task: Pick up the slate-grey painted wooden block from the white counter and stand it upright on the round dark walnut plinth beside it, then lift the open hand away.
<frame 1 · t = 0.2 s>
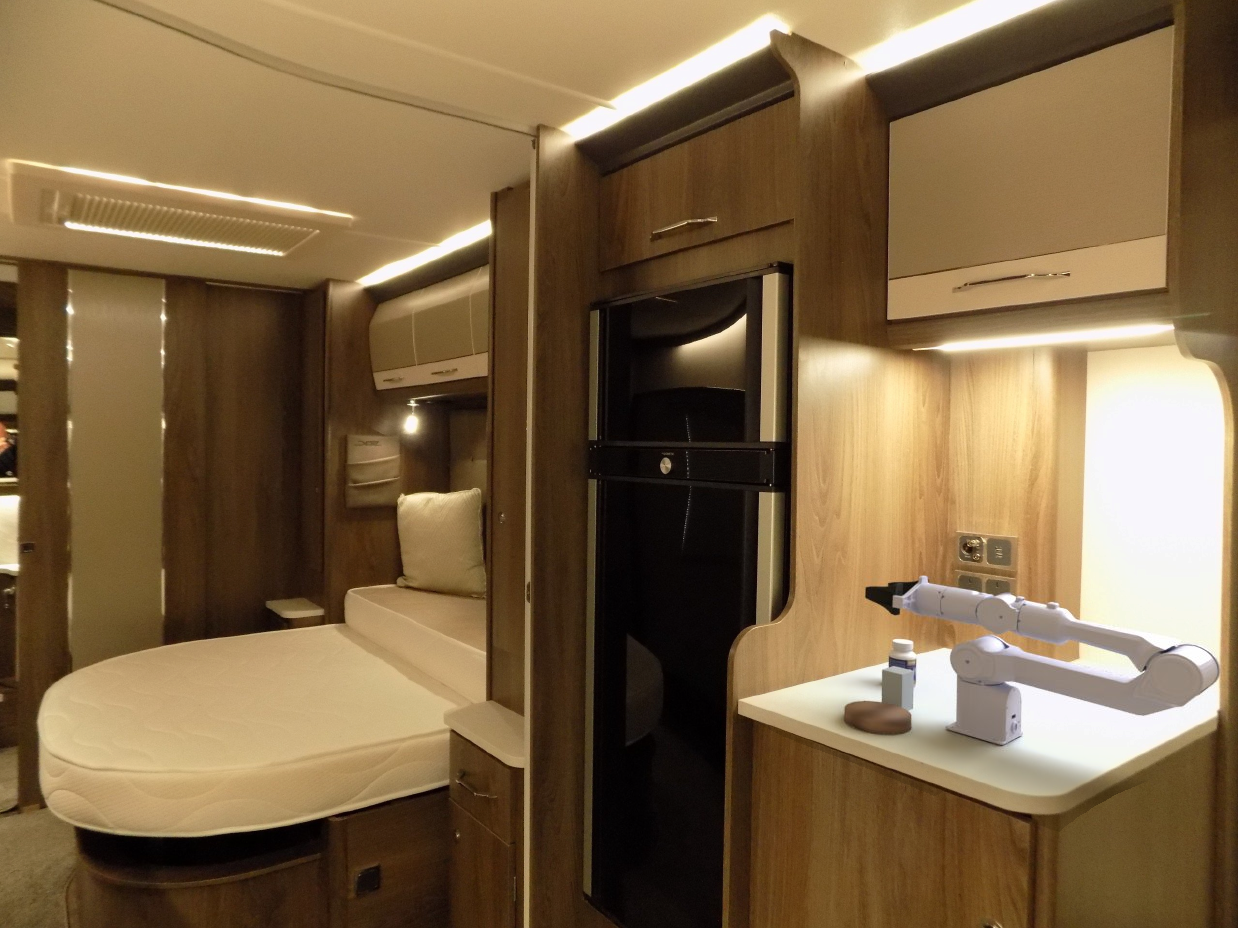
hand: (877, 590, 142), 21 cm above the worktop, tool horizontal, fingers open, 7 cm apart
plinth: (877, 722, 131), on the worktop
pill bottle: (902, 685, 154), on the worktop
block: (897, 708, 139), on the worktop
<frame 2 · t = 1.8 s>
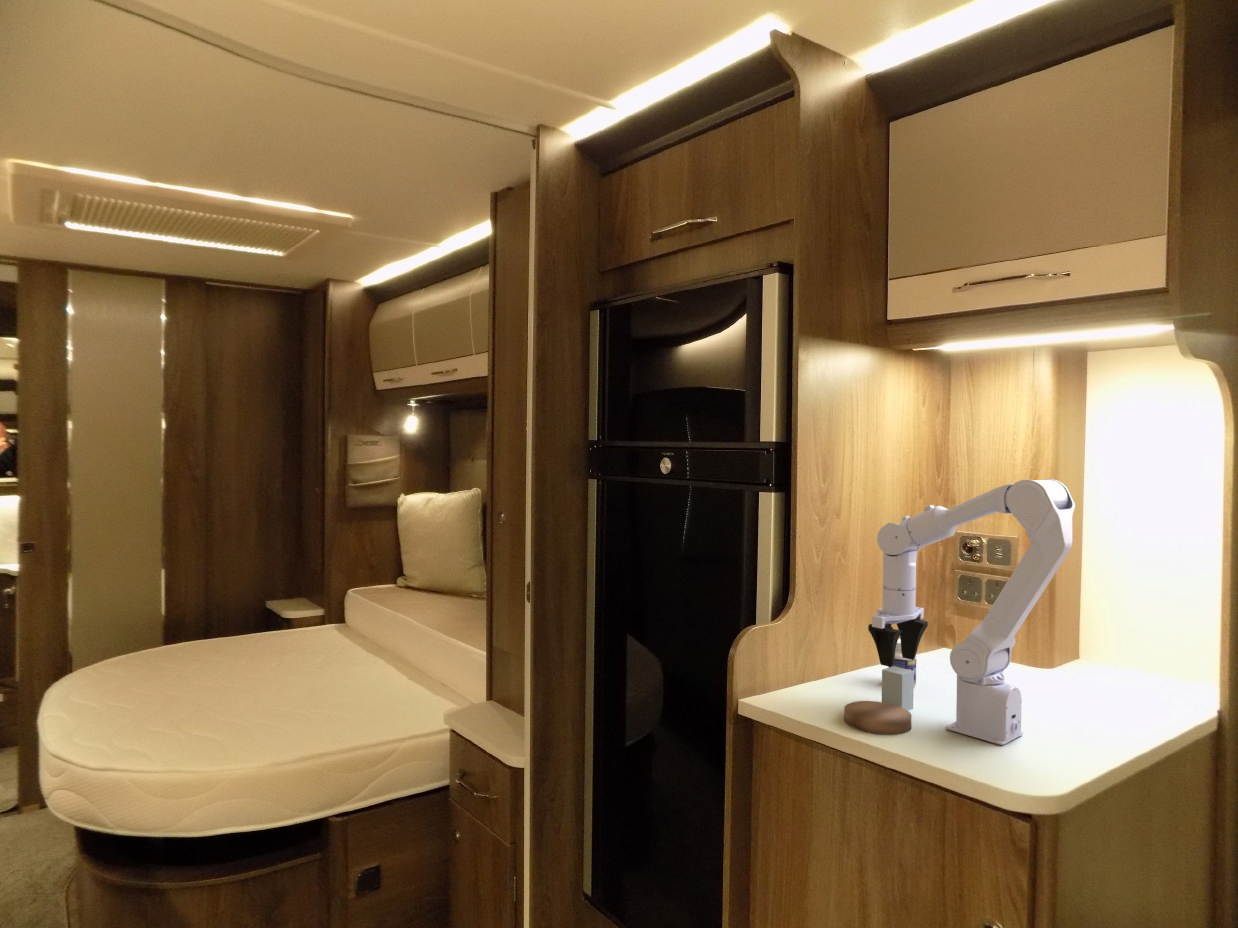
hand: (897, 661, 139), 8 cm above the worktop, tool pointing down, fingers open, 7 cm apart
nothing on the worktop moved.
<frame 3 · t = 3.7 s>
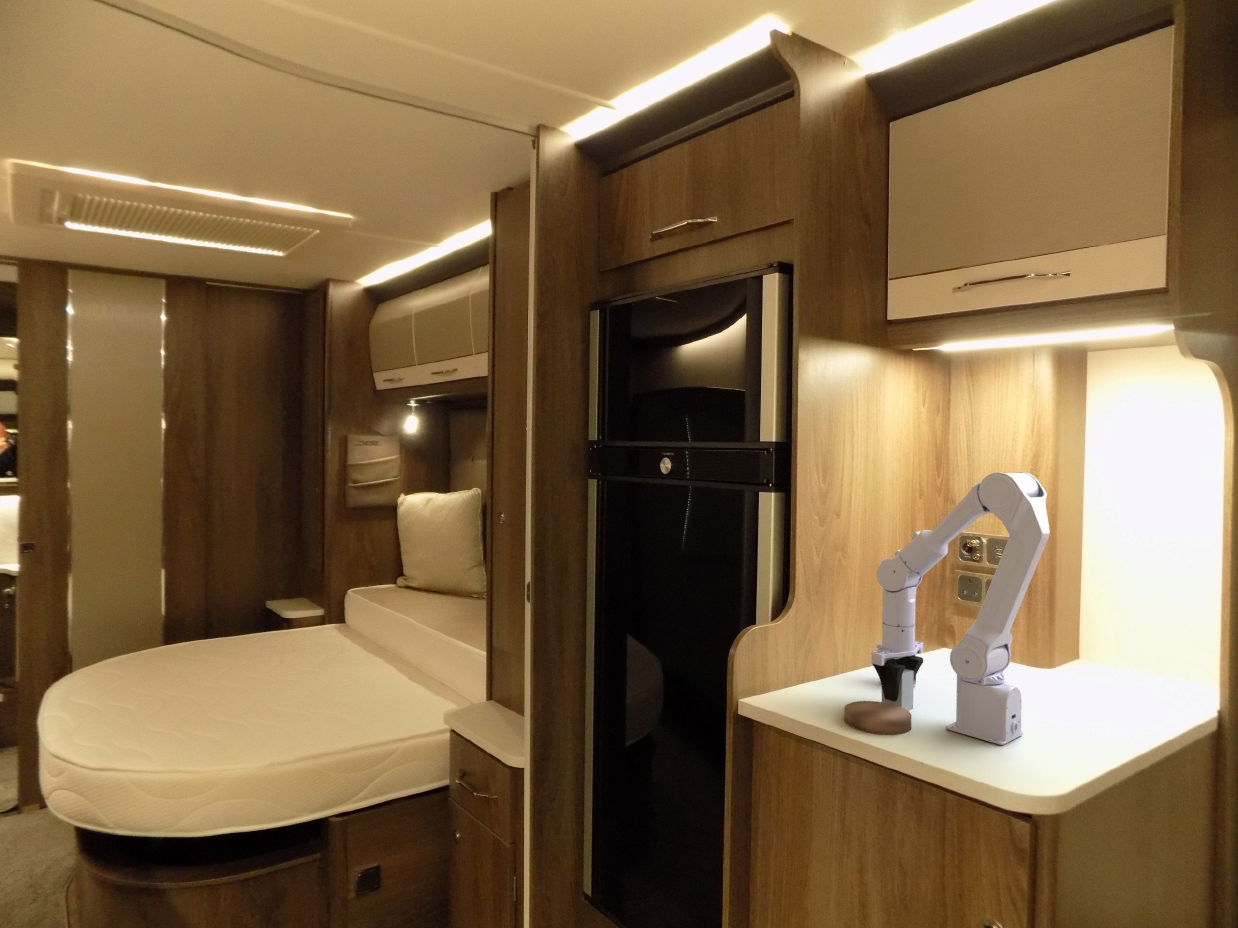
hand: (897, 697, 139), 2 cm above the worktop, tool pointing down, fingers closed on block, 4 cm apart
block: (897, 707, 139), on the worktop, touching gripper
everything else where it was.
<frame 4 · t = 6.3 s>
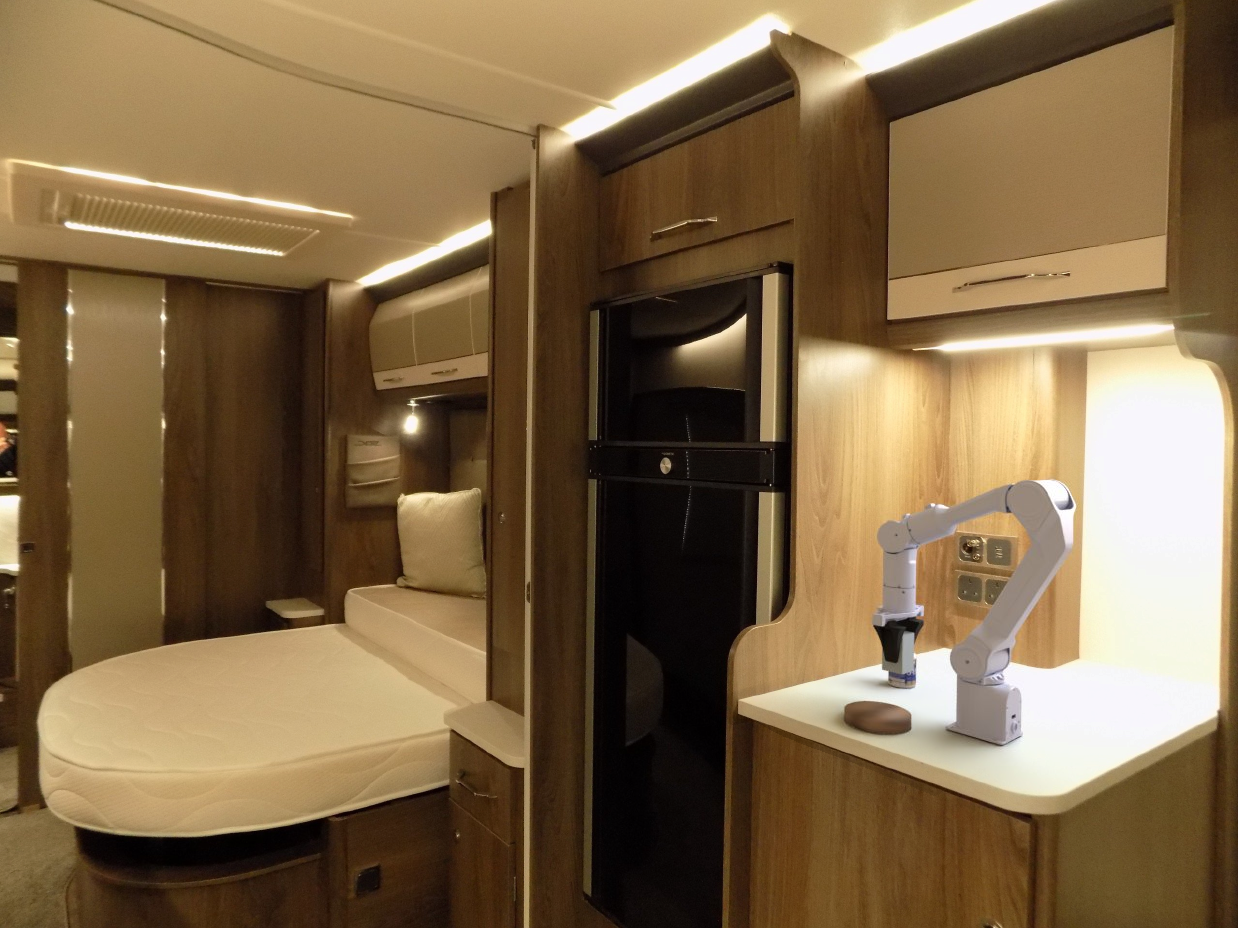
hand: (898, 659, 139), 9 cm above the worktop, tool pointing down, fingers closed on block, 4 cm apart
block: (897, 670, 139), point 7 cm above the worktop, touching gripper
everything else where it was.
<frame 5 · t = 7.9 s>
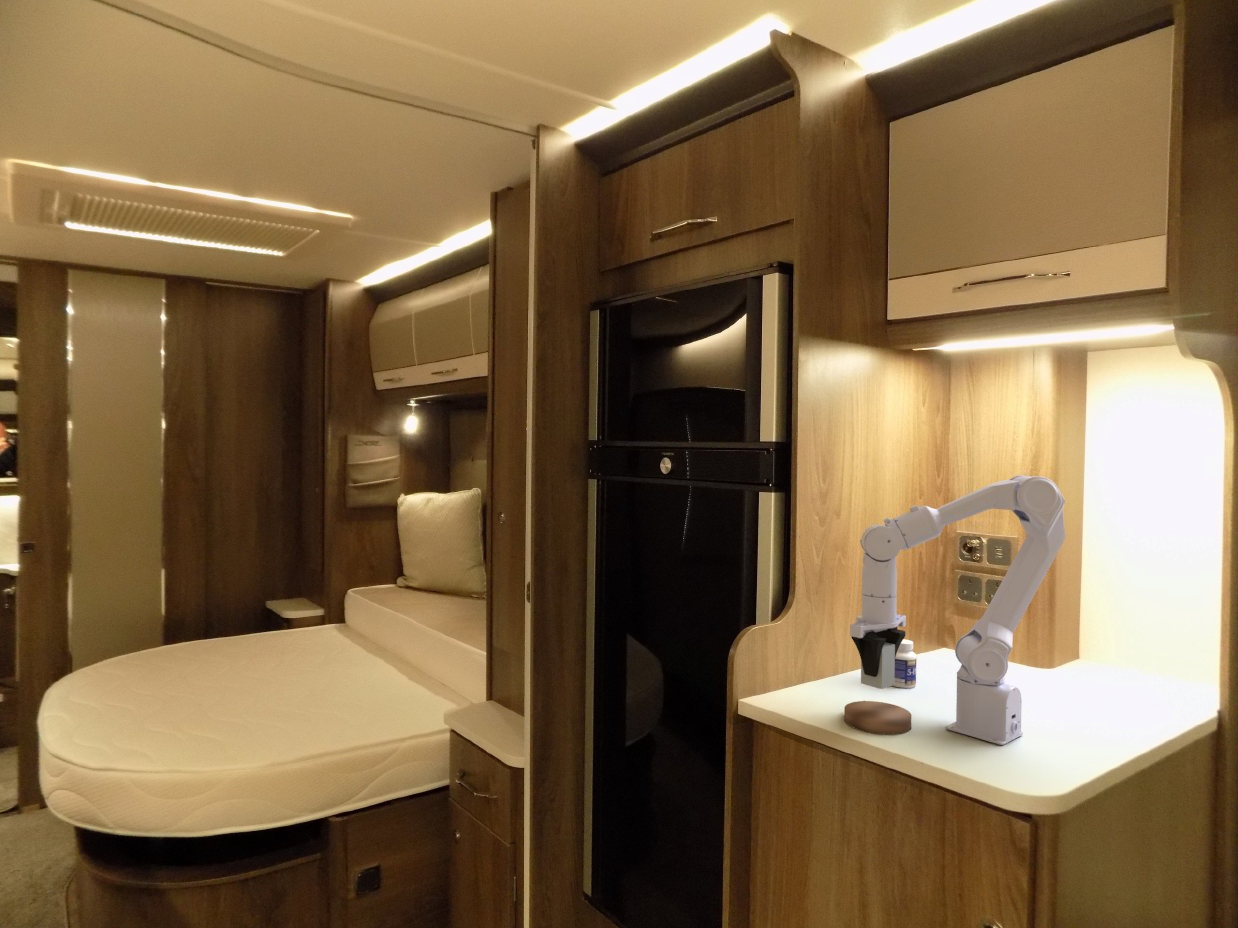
hand: (878, 672, 131), 9 cm above the worktop, tool pointing down, fingers closed on block, 4 cm apart
block: (877, 683, 131), point 7 cm above the worktop, touching gripper
everything else where it was.
when the fingers open (5 cm above the worktop, at t = 9.1 s): block stays where it is, resting on plinth.
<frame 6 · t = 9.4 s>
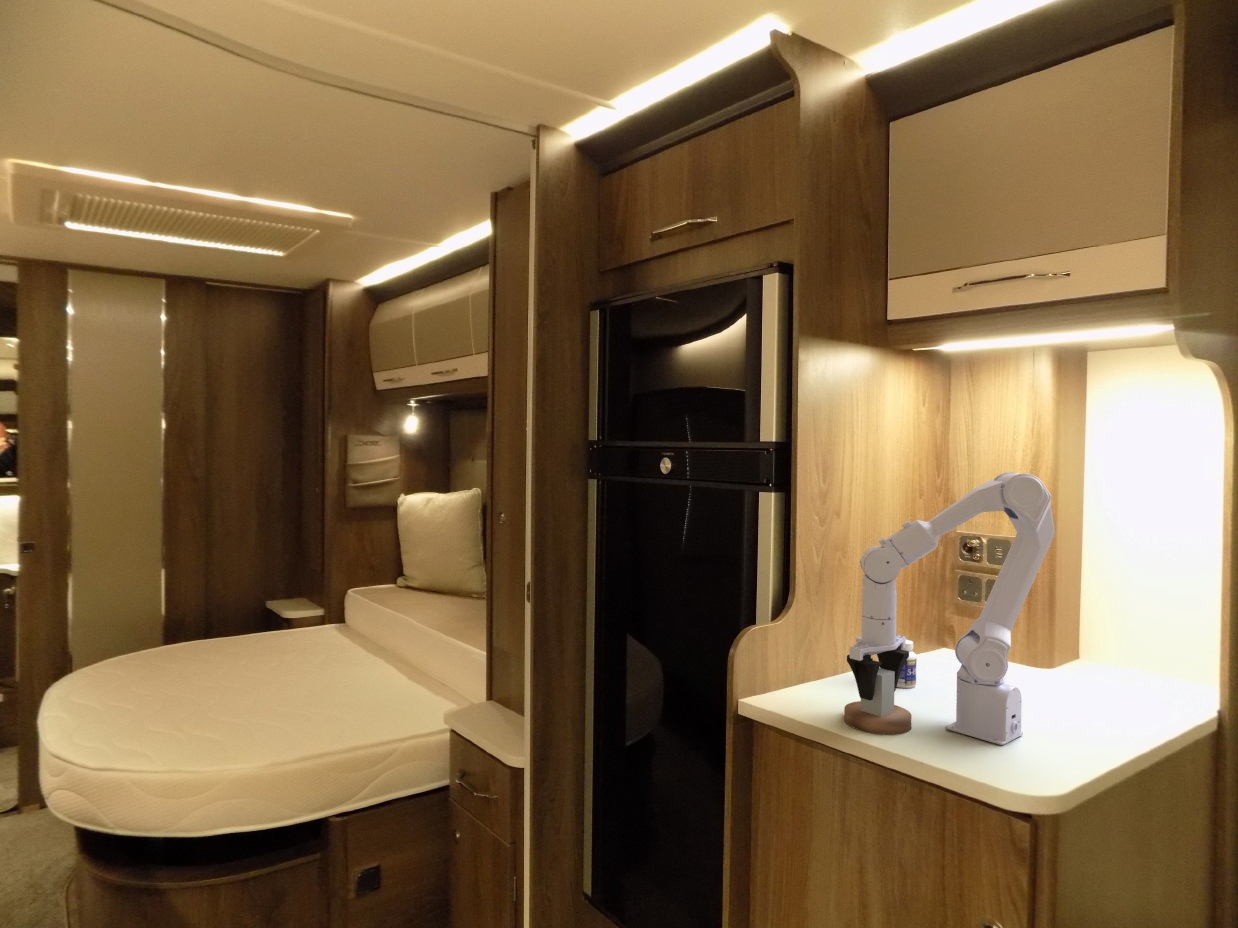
hand: (877, 694, 131), 5 cm above the worktop, tool pointing down, fingers open, 7 cm apart
block: (877, 711, 131), point 2 cm above the worktop, touching plinth
everything else where it was.
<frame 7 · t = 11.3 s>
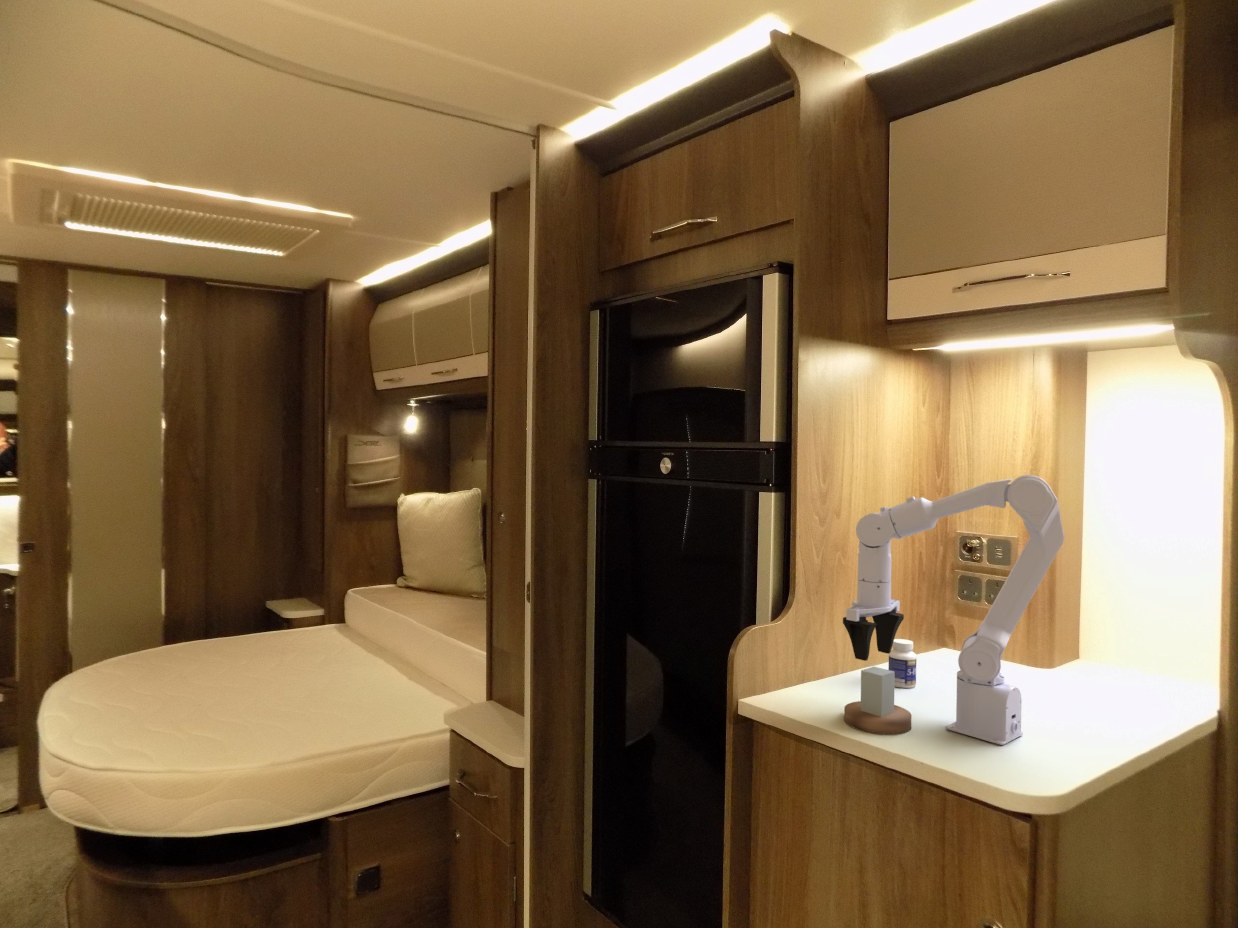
hand: (872, 655, 136), 10 cm above the worktop, tool pointing down, fingers open, 7 cm apart
nothing on the worktop moved.
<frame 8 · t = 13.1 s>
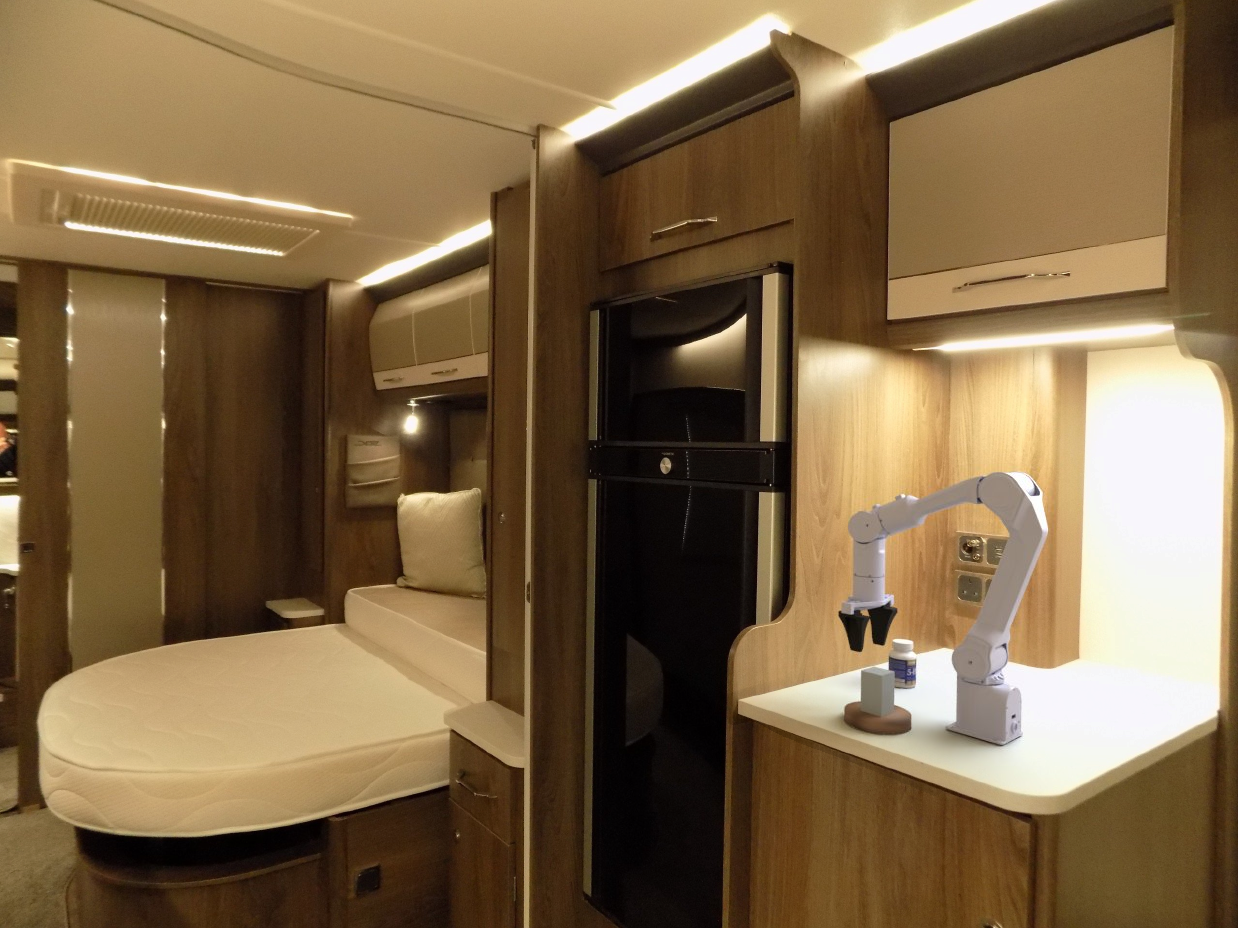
hand: (867, 647, 142), 10 cm above the worktop, tool pointing down, fingers open, 7 cm apart
nothing on the worktop moved.
at the end: block 0.0 cm off-centre on the plinth, point 2.0 cm above the plinth's base; block tilted 0°; the gripper is holding nothing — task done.
